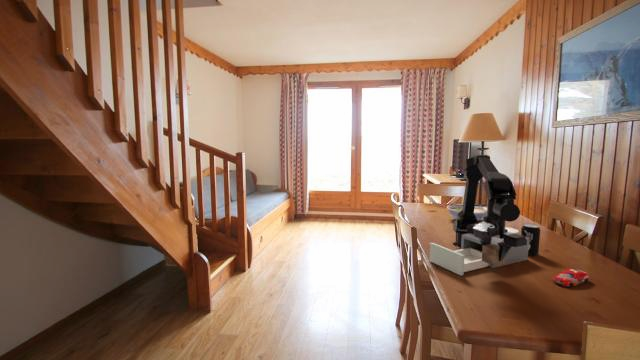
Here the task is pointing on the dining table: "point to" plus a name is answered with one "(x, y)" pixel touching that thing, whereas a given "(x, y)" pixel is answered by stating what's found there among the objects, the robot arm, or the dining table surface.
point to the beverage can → (531, 237)
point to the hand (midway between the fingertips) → (493, 258)
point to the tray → (457, 259)
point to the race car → (571, 278)
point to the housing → (512, 255)
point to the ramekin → (512, 230)
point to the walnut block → (491, 254)
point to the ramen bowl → (478, 210)
